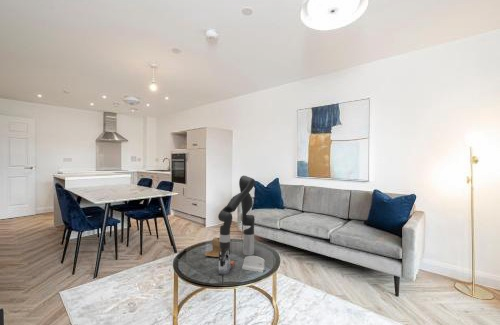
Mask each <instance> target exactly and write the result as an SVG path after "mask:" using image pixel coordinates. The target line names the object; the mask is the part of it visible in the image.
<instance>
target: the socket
mask: <svg viewBox="0 0 500 325" xmlns="http://www.w3.org/2000/svg"><path fill="white" fill-rule="evenodd" d="M230 261H231V257H230V256H228V257H226V256H225V258H224V266H223V267H222V266H220V261H219V260H218V271H219V270H225V271H227V270H228V269H229V268H230Z"/></svg>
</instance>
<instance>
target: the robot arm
mask: <svg viewBox="0 0 500 325" xmlns="http://www.w3.org/2000/svg"><path fill="white" fill-rule="evenodd" d="M238 181H239V182H238V183H239V184H238V186H239V193H237V194H235V195H234V196H232V198H230V200H229V202H228V203H227V205H225V206H224V207H223V208H222V209H221V210H220V211H219V213H218V216H217V217H218V220H219V221H221V222H223V224H222V225H221V226H220V227H219V238H220V240H219V247H220V248H221V252H220V251H219V257H218V262H219V261H220V266H222V267H223V266H224V258H225V257H230V255H231V226H232V223H233V215H232V213H234V212H235V211H236V210H237V209H238V207H239V205H240V204H241V224H242V226H244V227H245V226H246V227H247V226H249V227H247V228H245V229H244V230H243V233H242V234H243V239H242V240H243V241H242V245H243V246H242V254H243V255H244V256H254V254H255V222H256V221H255V220H256V219H255V216H254V214H248V213H249V212H250V210H251V209H252V208H253V198H252V195H251V193H250V192H251V191H252V190H253V188H254V187H255V184H256V180H255V179H254V178H253V177H250V176H247V175H242V176H240V178H239V180H238Z"/></svg>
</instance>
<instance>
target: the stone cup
mask: <svg viewBox="0 0 500 325" xmlns="http://www.w3.org/2000/svg"><path fill="white" fill-rule="evenodd" d="M219 240H220V237H213V238H212V241H211V244H212V250H211V251H206V252H205V253H204V256H205V257H206V256H207V257H214V258H219V251H220V252H221V248H220V247H219Z"/></svg>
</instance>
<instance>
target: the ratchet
mask: <svg viewBox="0 0 500 325" xmlns="http://www.w3.org/2000/svg"><path fill="white" fill-rule="evenodd" d="M235 266H236V262H235V261H234V260H230V268H229V269H228V270H227V271H225V270H219V269H218V273H219V275H221V276H227V275H229V274H230V270H232V268H234V267H235Z"/></svg>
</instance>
